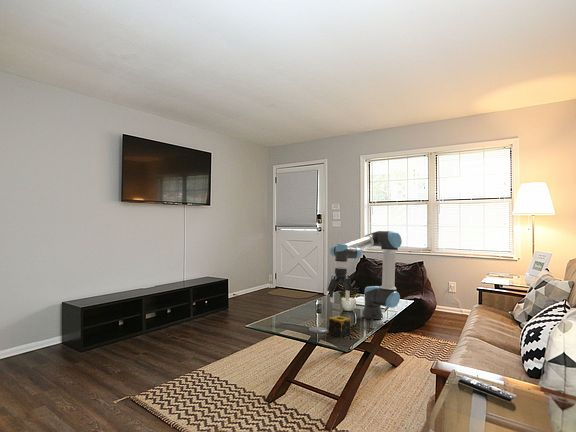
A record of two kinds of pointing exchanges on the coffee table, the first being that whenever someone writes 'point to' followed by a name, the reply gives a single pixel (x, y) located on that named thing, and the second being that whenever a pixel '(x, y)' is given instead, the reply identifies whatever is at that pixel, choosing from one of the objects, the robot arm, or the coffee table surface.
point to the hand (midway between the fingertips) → (339, 301)
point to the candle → (339, 326)
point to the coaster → (318, 330)
